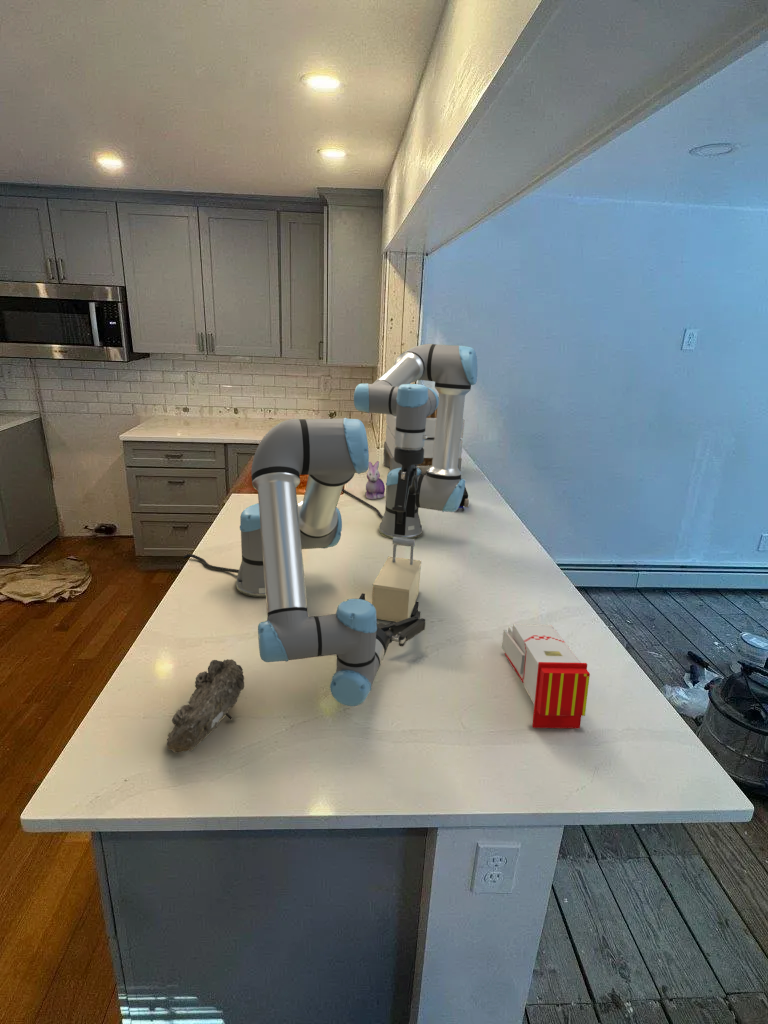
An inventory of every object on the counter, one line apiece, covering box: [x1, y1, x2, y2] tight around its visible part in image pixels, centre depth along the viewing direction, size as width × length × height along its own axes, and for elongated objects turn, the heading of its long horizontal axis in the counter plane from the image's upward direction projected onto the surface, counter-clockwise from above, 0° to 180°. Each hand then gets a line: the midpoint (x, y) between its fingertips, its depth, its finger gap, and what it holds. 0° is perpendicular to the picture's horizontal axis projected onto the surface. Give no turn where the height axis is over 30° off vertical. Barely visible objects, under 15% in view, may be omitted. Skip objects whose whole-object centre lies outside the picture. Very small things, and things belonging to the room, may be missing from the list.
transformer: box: [383, 409, 465, 473], centre depth 268 cm, size 34×33×41 cm
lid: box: [372, 537, 422, 592], centre depth 148 cm, size 18×9×8 cm, turn 167°
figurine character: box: [455, 486, 470, 512], centre depth 229 cm, size 7×8×15 cm
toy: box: [501, 623, 591, 729], centre depth 120 cm, size 12×13×30 cm
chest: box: [371, 564, 422, 623], centre depth 151 cm, size 17×9×9 cm, turn 167°
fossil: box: [166, 658, 245, 754], centre depth 106 cm, size 22×10×15 cm
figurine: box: [364, 460, 386, 500], centre depth 235 cm, size 9×10×15 cm
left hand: (389, 602), depth 140 cm, fingers open, 13 cm apart
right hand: (404, 525), depth 151 cm, fingers open, 13 cm apart
